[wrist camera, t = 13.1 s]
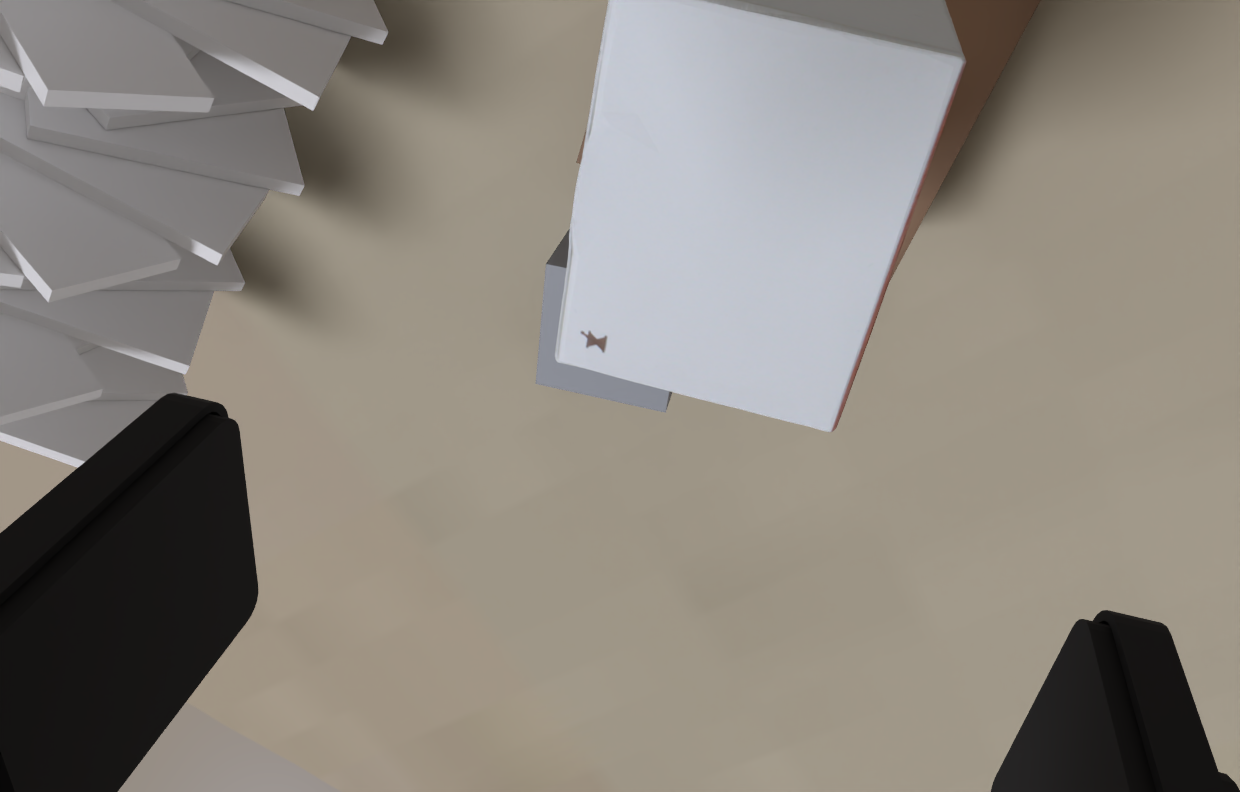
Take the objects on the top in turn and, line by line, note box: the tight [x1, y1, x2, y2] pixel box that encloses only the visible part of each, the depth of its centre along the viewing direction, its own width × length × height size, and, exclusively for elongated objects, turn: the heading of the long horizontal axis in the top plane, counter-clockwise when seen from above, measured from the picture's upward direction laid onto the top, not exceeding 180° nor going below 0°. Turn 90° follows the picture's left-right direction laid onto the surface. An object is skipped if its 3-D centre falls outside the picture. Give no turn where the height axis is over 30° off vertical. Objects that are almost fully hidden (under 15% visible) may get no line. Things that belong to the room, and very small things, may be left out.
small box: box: [555, 0, 967, 432], centre depth 24 cm, size 8×6×13 cm
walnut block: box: [576, 0, 1040, 282], centre depth 31 cm, size 11×11×5 cm
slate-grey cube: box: [536, 229, 672, 413], centre depth 37 cm, size 5×5×5 cm
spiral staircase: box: [0, 0, 388, 467], centre depth 31 cm, size 18×18×25 cm
